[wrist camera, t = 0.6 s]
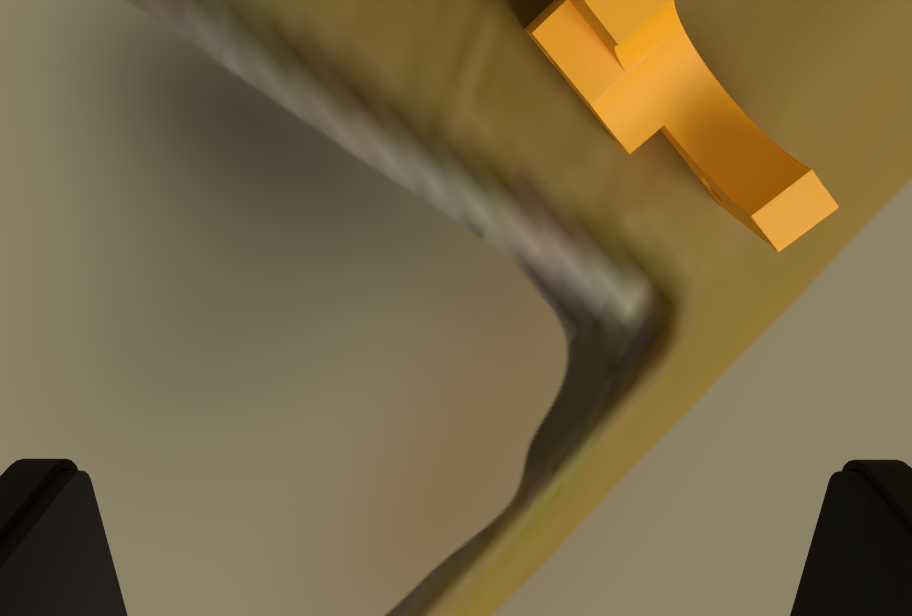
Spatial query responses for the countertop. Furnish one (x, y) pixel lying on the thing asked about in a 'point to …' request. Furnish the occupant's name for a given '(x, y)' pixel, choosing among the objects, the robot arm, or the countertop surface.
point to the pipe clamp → (678, 109)
